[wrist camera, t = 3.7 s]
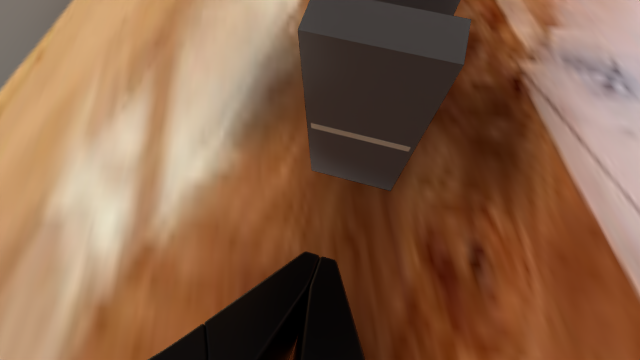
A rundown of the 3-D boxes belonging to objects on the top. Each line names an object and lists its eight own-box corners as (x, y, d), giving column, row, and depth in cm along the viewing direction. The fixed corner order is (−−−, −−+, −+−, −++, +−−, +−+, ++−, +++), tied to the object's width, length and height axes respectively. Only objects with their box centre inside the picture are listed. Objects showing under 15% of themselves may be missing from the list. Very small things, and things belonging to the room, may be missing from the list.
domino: (390, 191, 19) (464, 65, 9) (311, 170, 20) (297, 30, 10) (396, 164, 20) (471, 19, 10) (319, 145, 21) (314, -12, 10)
